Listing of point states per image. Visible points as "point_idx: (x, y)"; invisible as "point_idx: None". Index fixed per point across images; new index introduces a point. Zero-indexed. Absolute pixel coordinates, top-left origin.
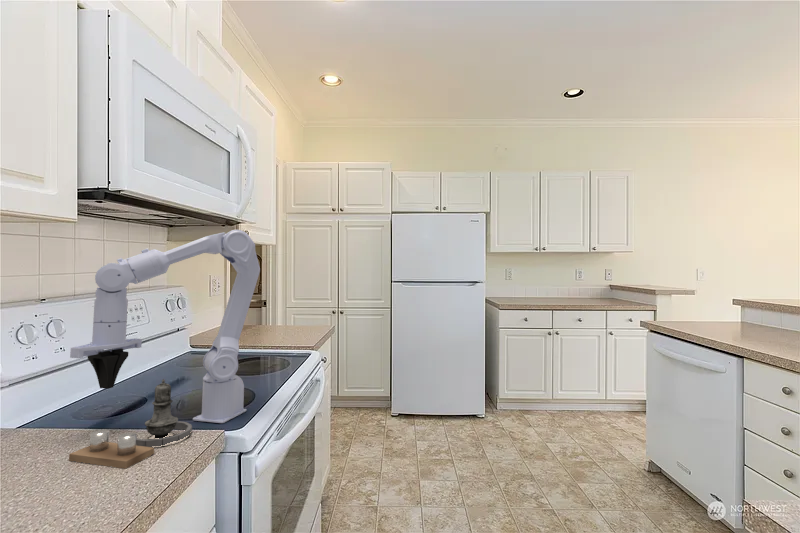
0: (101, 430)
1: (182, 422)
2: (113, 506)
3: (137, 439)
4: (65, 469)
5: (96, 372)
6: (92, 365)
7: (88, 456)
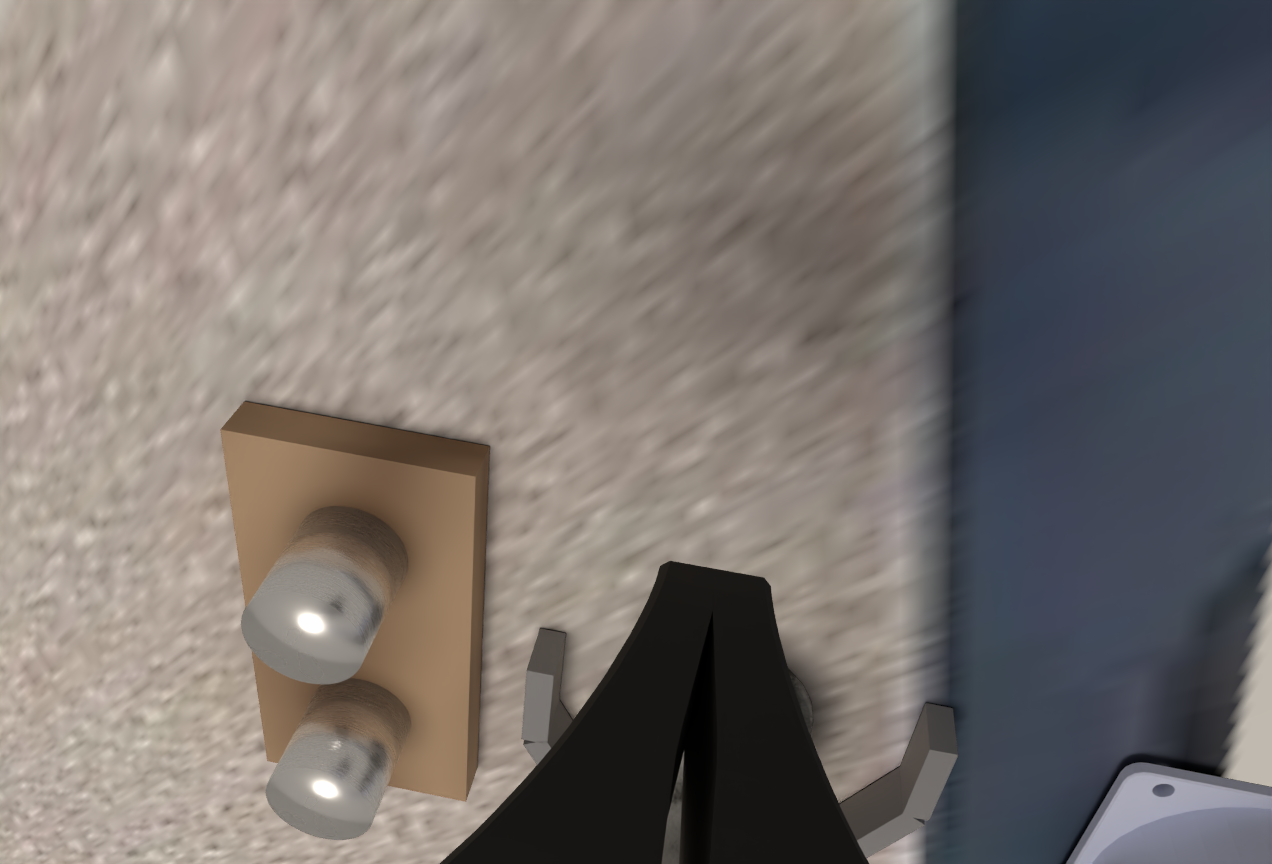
0: (336, 628)
1: (917, 803)
2: (35, 824)
3: (533, 694)
4: (155, 466)
5: (568, 741)
6: (471, 836)
7: (239, 563)
